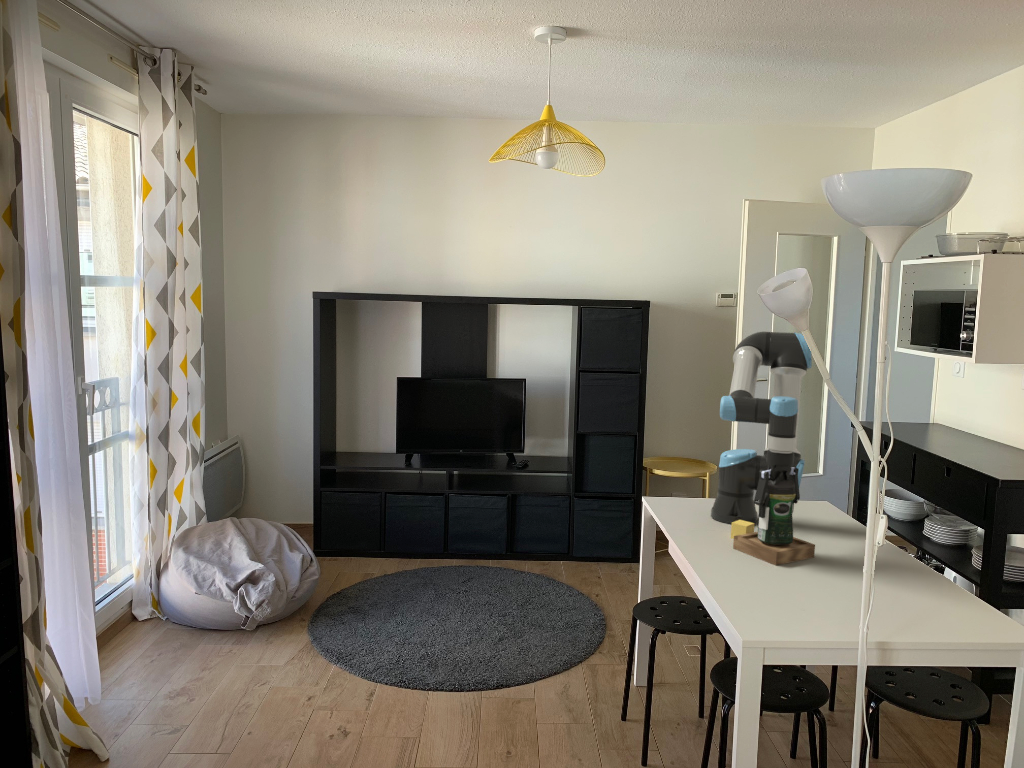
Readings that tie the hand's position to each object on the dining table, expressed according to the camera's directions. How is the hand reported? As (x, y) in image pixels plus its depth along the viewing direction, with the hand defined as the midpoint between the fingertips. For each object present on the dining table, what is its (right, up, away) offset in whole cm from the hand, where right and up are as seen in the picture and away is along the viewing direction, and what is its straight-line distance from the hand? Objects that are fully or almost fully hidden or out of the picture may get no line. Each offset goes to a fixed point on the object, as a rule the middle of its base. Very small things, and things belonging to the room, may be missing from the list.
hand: (775, 526), depth 230 cm
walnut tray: (0, -8, +1) cm, 8 cm away
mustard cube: (-6, -6, +14) cm, 16 cm away
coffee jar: (0, -5, +1) cm, 5 cm away
